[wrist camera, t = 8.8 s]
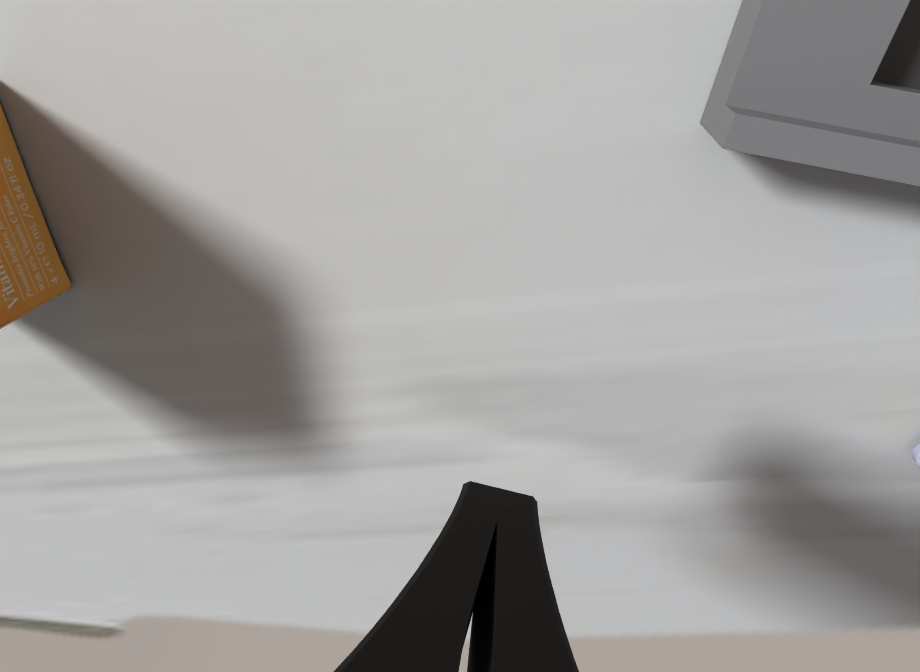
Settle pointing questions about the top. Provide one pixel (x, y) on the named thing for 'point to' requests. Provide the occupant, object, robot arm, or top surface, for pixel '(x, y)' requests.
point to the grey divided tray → (823, 85)
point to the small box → (23, 240)
